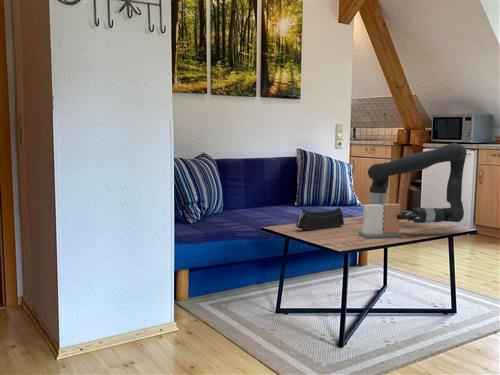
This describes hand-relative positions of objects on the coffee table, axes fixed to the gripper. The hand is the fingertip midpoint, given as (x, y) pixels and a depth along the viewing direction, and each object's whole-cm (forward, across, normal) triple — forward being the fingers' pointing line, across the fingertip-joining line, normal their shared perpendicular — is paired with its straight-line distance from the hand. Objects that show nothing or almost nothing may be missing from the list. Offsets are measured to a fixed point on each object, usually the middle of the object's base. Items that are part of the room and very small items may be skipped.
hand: (393, 215), depth 247 cm
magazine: (+30, -20, +10) cm, 38 cm away
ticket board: (+7, 0, +10) cm, 12 cm away
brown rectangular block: (+1, 0, +8) cm, 8 cm away
